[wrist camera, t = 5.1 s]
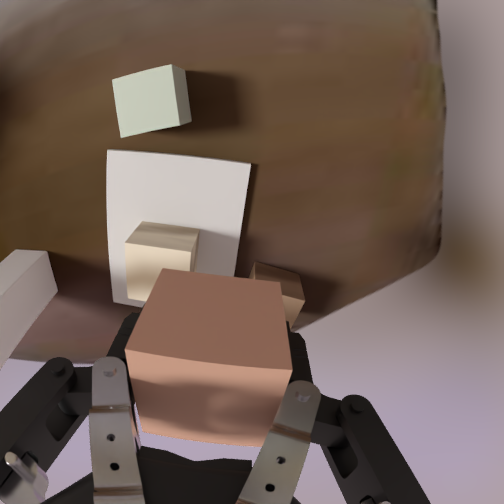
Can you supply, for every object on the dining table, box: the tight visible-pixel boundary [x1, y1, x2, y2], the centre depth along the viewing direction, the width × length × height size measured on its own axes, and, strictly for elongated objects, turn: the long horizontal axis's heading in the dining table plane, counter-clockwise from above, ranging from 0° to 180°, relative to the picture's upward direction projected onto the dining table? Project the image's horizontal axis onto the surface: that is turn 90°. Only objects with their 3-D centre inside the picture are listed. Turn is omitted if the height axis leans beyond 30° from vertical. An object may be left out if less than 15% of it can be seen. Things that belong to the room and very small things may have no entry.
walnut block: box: [248, 261, 305, 329], centre depth 32 cm, size 5×5×5 cm
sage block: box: [112, 64, 192, 138], centre depth 23 cm, size 5×5×5 cm
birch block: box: [125, 221, 200, 301], centre depth 29 cm, size 6×6×5 cm
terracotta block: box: [125, 268, 293, 447], centre depth 12 cm, size 5×5×5 cm
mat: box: [107, 149, 251, 307], centre depth 31 cm, size 18×14×1 cm
